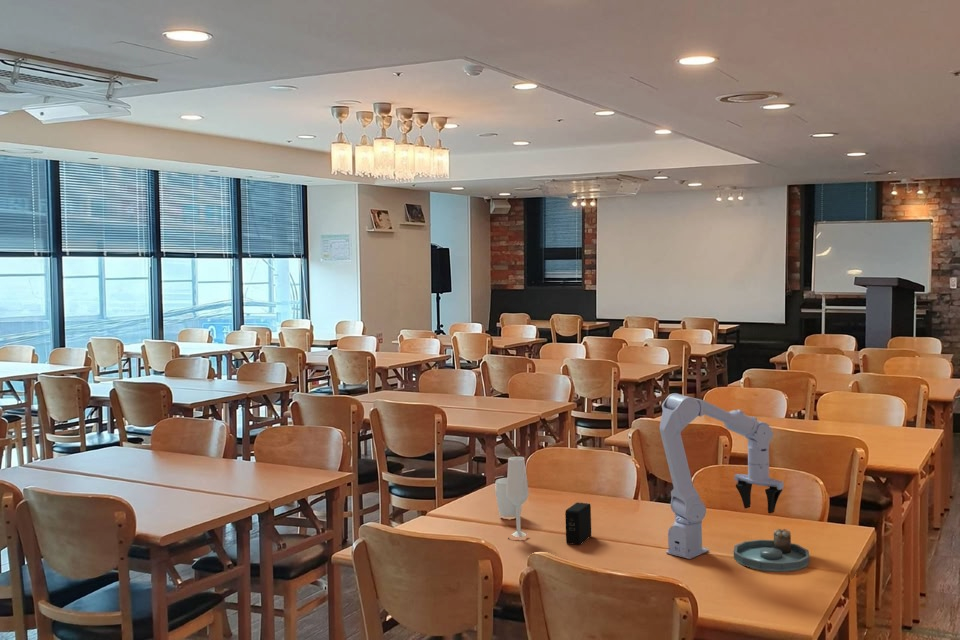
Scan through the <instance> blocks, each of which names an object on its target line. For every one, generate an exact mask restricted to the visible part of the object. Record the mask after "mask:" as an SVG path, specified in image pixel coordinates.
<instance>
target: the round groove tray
mask: <svg viewBox="0 0 960 640" xmlns="http://www.w3.org/2000/svg"><path fill="white" fill-rule="evenodd" d="M733 558H734V560H736V561H737V562H738V563H737V564H739V563H740V564H739V565H741V566H743V567H745V566H747V567H746V568H748V567H750V568H749V569H751V568H753V569H752V570H755V569H756V571H763V572H771V573H787V572H788V573H789V572H794V571H795V572H796V571H799V570H803V569H805V568H806V567H808V566H809V564H810V551H809V549H807V548H805V547H803V546H801V545H799V544H796V543H792V542H791V553H788V554H782V551H781V550H779V549H776V548H774V539H773V540H771V539H755V540H747V541H743V542H741V543H738V544H736V545H734V547H733ZM736 561H735V562H736Z"/></svg>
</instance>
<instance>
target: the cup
mask: <svg viewBox="0 0 960 640" xmlns="http://www.w3.org/2000/svg"><path fill="white" fill-rule="evenodd" d="M494 486H495V488H494V491H495V498H496V503H497V508H498V513H499V516H500V515H501V516H504V517H516V506H515V505H514V504H513V503H511V502H510V501H509V499H508V498H507V496H506V491H507V477H502V478H498V479H496V480H495V485H494ZM522 505H523V504H522ZM522 505H520V515H522Z"/></svg>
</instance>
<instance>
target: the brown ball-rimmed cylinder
mask: <svg viewBox="0 0 960 640" xmlns="http://www.w3.org/2000/svg"><path fill="white" fill-rule="evenodd" d="M791 537H792V535H791V531H790V530H787V529H785V528H784V529H781V528H778V529H775V530H774V531H773V540H774V548H776V549H779V550H781V551H782V554H788V553H791V543H792V539H791Z"/></svg>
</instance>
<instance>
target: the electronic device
mask: <svg viewBox="0 0 960 640" xmlns="http://www.w3.org/2000/svg"><path fill="white" fill-rule="evenodd" d="M591 508H592V507H591V503H588V502H575V503H574V504H572V505H571V506H570V507H568V508H567V509H565V513H564V514H565V541H566V542H565V543H566V544H568V543H573V544H572V545H576V544H579V545H578V546H581V545H582V544H583V543H585V542H586V541H587V540H588V539H589V538H591V537H592V514H591V513H592V512H591V511H592V510H591ZM590 536H591V537H590ZM588 537H589V538H588ZM587 538H588V539H587ZM586 539H587V540H586ZM585 540H586V541H585ZM584 541H585V542H584ZM582 542H583V543H582ZM581 543H582V544H581ZM580 544H581V545H580Z"/></svg>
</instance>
